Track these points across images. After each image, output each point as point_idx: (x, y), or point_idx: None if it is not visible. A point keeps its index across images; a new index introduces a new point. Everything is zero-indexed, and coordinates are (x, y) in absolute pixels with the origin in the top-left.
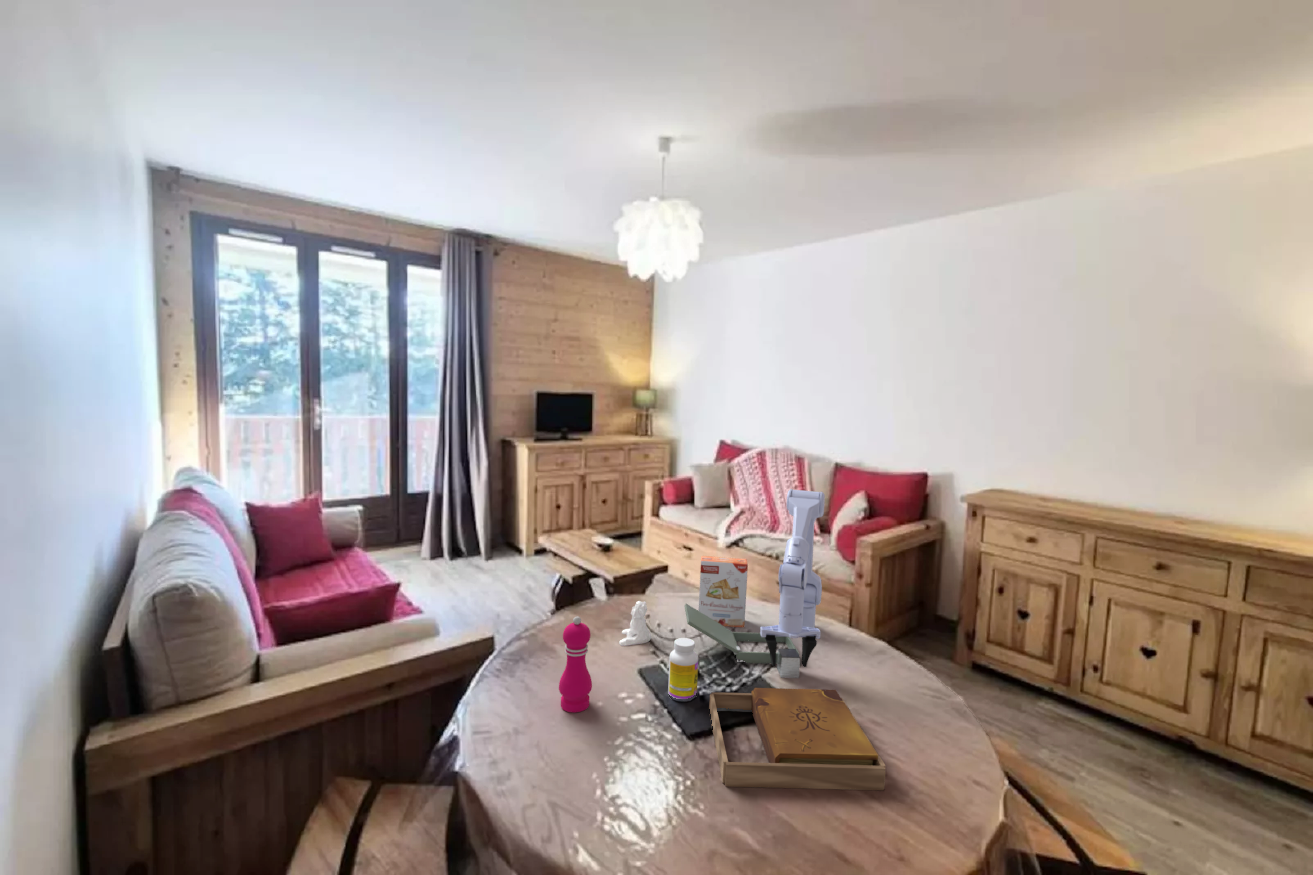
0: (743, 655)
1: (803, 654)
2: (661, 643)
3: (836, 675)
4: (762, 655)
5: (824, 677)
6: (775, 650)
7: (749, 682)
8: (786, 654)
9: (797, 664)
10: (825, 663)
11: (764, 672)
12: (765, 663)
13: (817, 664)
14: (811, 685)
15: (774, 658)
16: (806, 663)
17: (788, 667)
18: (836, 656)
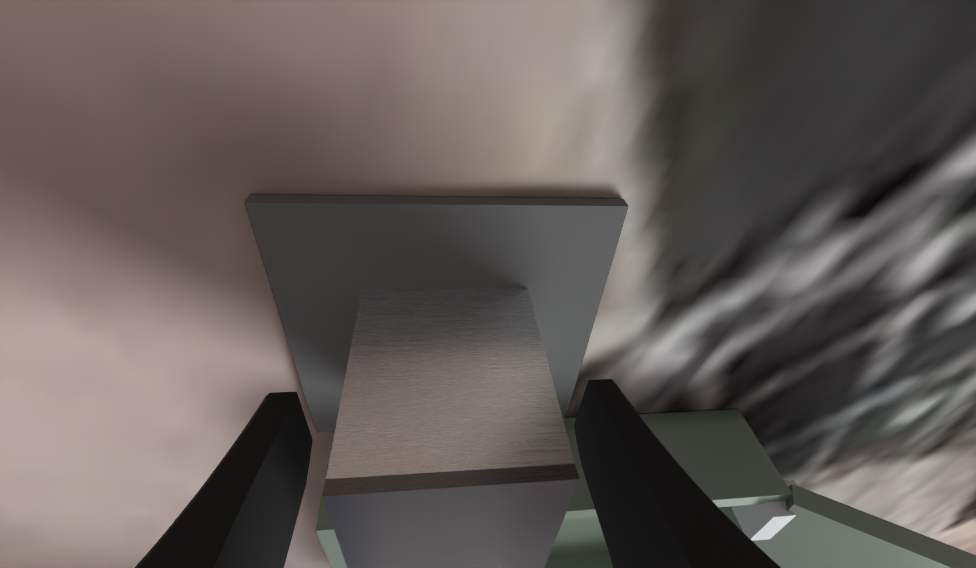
0: (739, 476)
1: (269, 537)
2: (936, 510)
3: (9, 368)
4: None
5: (119, 335)
6: (699, 561)
7: (807, 228)
8: (495, 515)
9: (367, 402)
10: (136, 479)
11: (604, 360)
12: (569, 435)
13: (194, 466)
14: (244, 202)
15: (642, 449)
16: (251, 426)
17: (470, 367)
18: (71, 536)
